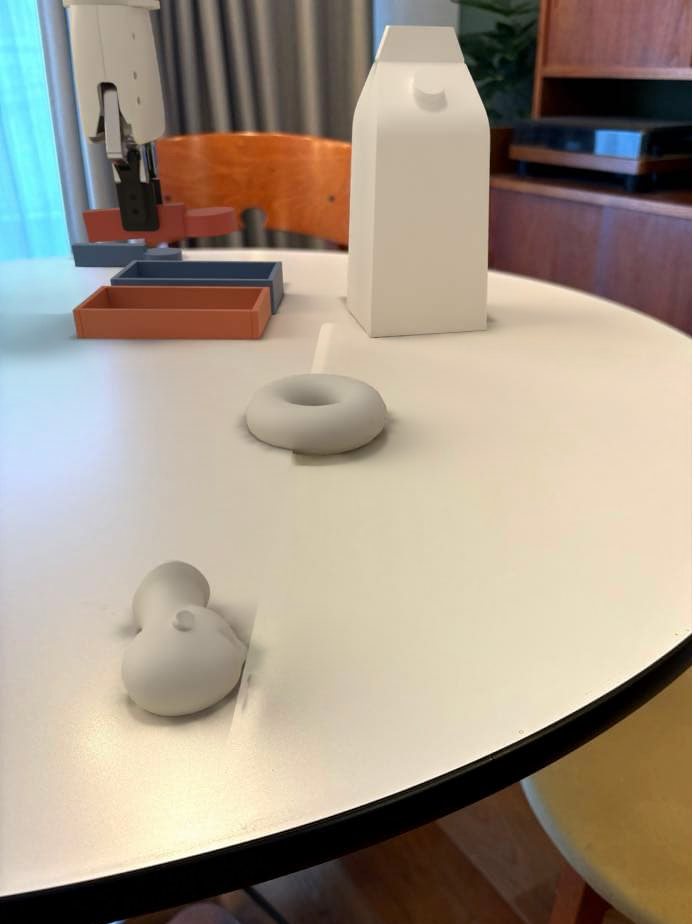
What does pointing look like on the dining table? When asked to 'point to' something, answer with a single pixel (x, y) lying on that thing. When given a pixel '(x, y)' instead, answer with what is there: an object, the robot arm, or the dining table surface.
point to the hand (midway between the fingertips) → (144, 227)
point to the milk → (419, 190)
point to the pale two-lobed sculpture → (179, 644)
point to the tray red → (173, 312)
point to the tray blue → (205, 275)
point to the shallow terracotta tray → (162, 223)
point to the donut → (316, 413)
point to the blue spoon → (120, 254)
